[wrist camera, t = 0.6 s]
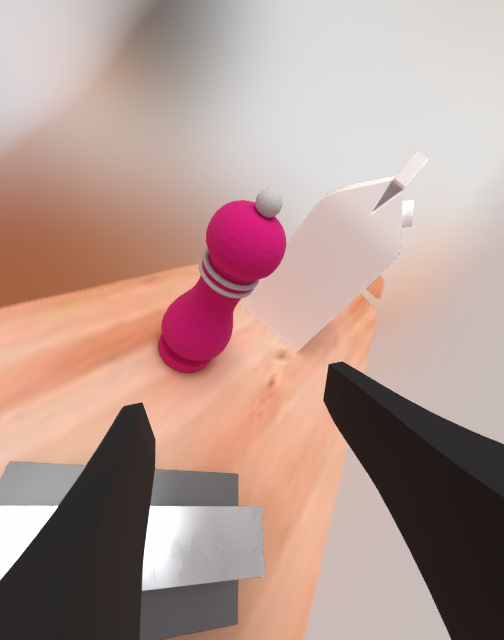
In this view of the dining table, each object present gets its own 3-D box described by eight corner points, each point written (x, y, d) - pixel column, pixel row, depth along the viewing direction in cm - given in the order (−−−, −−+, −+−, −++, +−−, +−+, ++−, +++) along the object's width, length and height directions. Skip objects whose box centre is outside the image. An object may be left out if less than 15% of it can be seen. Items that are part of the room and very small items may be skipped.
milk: (270, 276, 47) (382, 125, 30) (317, 316, 47) (457, 186, 29) (238, 304, 38) (371, 112, 21) (295, 353, 38) (479, 198, 21)
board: (232, 621, 18) (237, 624, 17) (-104, 684, 12) (-112, 691, 11) (234, 475, 24) (238, 473, 23) (11, 463, 17) (9, 461, 17)
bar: (231, 569, 19) (264, 576, 16) (-51, 598, 13) (-95, 619, 10) (232, 511, 21) (261, 506, 18) (-7, 512, 15) (-32, 506, 12)
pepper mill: (209, 385, 28) (328, 246, 15) (143, 365, 26) (214, 181, 12) (218, 335, 33) (315, 197, 19) (164, 315, 31) (230, 144, 17)
